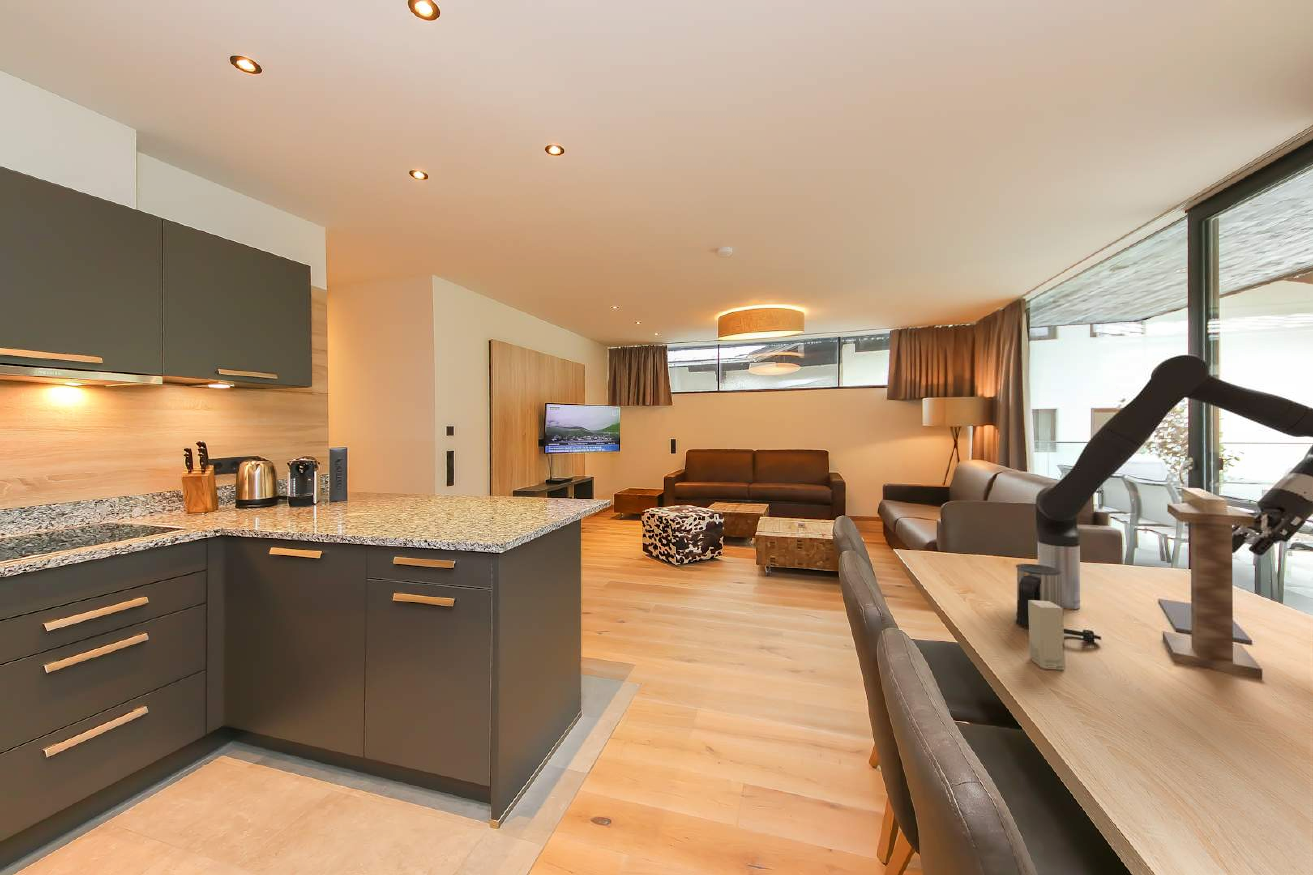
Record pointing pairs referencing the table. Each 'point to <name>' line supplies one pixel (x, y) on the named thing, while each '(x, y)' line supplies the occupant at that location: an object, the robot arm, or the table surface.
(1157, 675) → the table surface
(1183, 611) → the charcoal mat
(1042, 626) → the box
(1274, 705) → the table surface
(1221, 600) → the walnut pedestal
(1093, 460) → the robot arm
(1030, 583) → the milk frother
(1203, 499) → the birch bar
